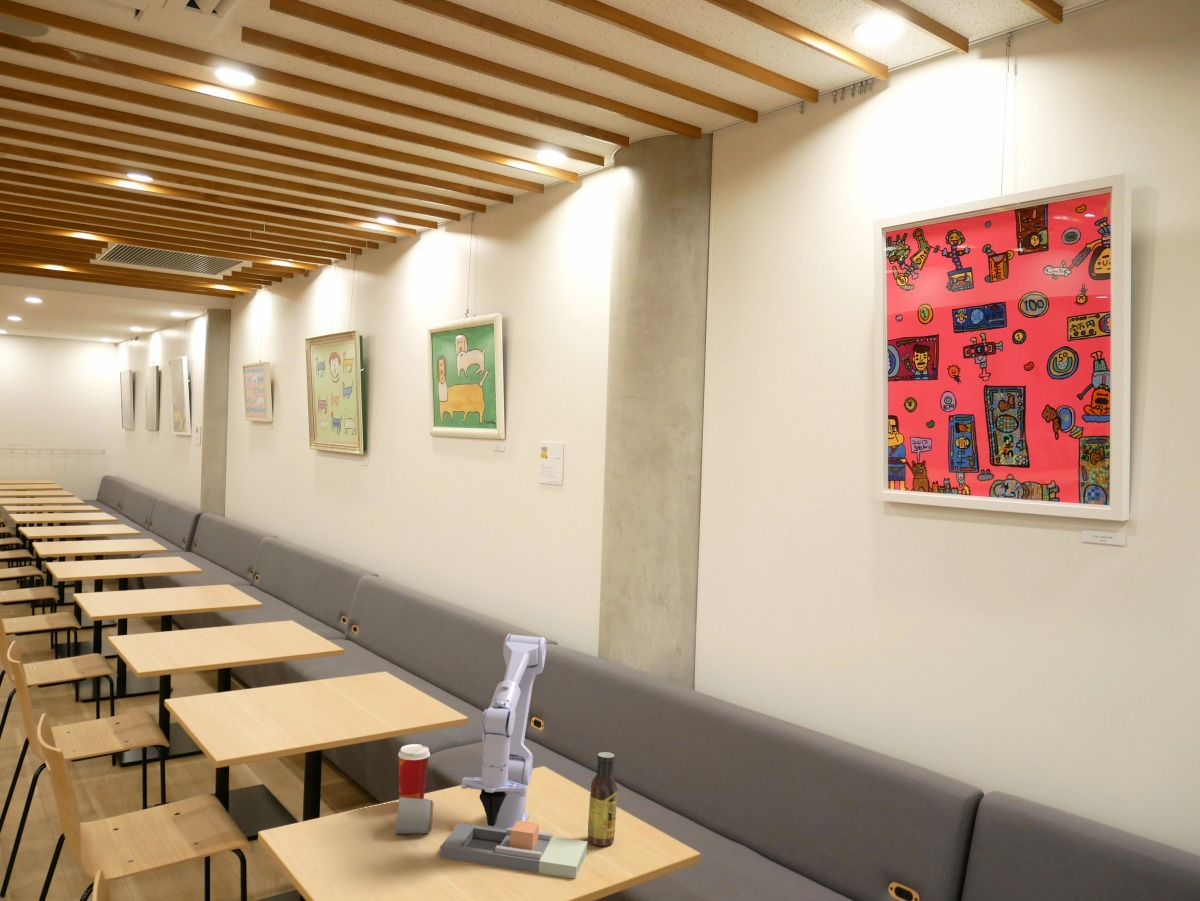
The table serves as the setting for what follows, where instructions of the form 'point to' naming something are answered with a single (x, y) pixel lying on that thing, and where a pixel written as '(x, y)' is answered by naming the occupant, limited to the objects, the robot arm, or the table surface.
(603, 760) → the sauce bottle
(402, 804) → the grey rounded cube
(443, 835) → the table surface
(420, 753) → the paper cup
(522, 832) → the terracotta block
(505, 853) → the tunnel deck
